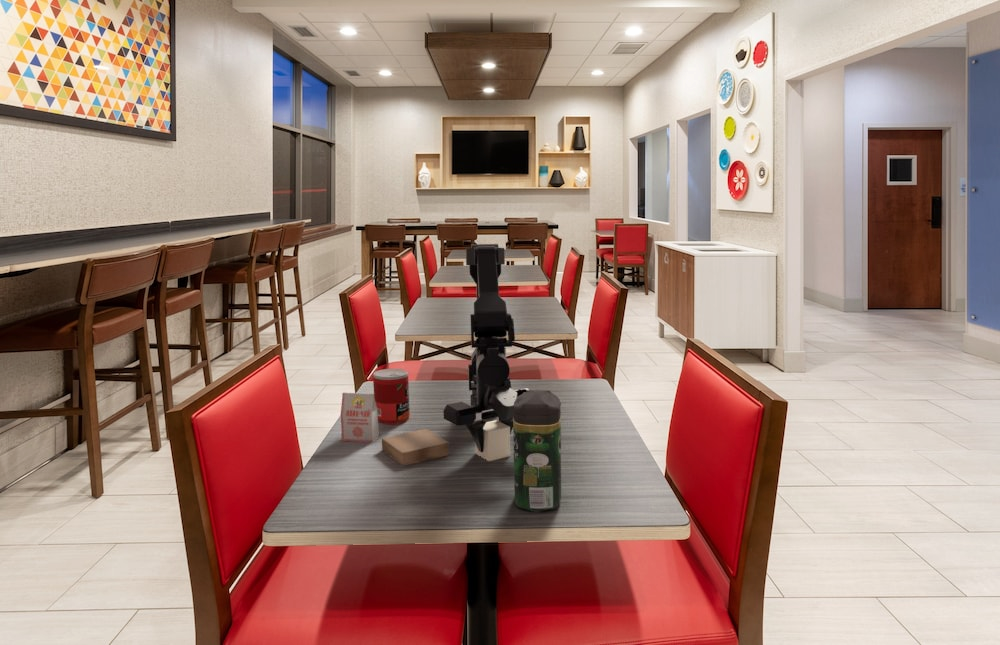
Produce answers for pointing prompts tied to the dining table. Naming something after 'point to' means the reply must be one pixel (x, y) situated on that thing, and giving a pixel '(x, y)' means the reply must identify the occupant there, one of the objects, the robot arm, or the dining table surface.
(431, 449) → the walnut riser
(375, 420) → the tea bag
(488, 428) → the cream block
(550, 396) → the coffee jar
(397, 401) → the canned food
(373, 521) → the dining table surface
